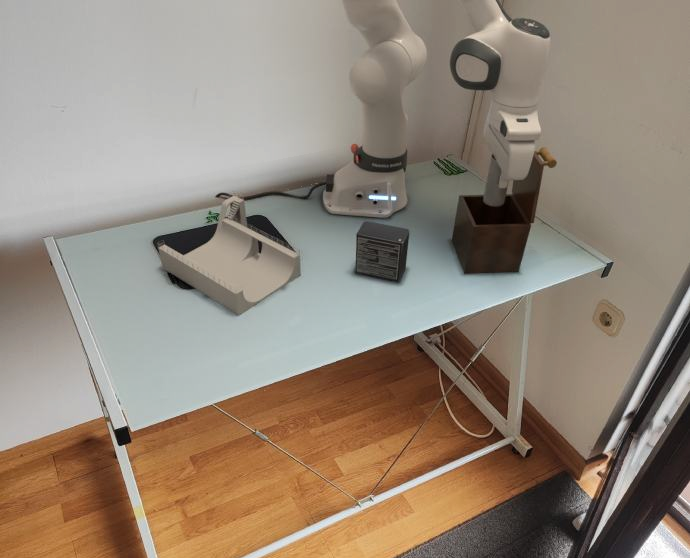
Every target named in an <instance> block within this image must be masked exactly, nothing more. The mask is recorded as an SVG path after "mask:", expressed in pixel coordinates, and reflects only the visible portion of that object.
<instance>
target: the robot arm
mask: <svg viewBox="0 0 690 558" xmlns="http://www.w3.org/2000/svg"><path fill="white" fill-rule="evenodd" d="M340 1H341V4H342V6H343V10H344V13H345V16H346V19H347V21H348V23H349V24H350V25H351V26H352V27H353V28H355V29H356V30H357V31H358V32H359V33H360V34H361V36H362V38H363V39H364V41H365V42H366V44H367V46H368V49H366V50H364V51H363V52H362V53H361V54H360V55H359V56H358V57H357V59H355V61H354V62H353V64H352V65H351V67H350V69H349V72H348V82H349V83H348V84H349V87H350V89H351V92H352V93H353V95H354V96H355V97H356V98H357V99H358V100H359V104H360V109H361V115H362V116H361V117H362V137H361V141H362V142H361V145H360V147H359V145H358V144H357V143H352V144H351V146H350V151H351V153H352V154H353V160H352V161H351V162H349V163H347V164H346V165H345V166H343V167H342V168H340V169H338V170H336V172H335V173H334V174H326V179H325V181H322V182H320V183H317V184H315V185H314V186H312V187H311V188H310V189H309V191H308V194H306V195H303V196H298V195H294V194H290V193H287V192H283V191H276V190H275V191H274V190H273V191H265V192H260V193H257V194H252V195H246V196H244V199H243V196H238V197H239V198H241V199H243V200H244V201H245V200H251V199H255V198H259V197H263V196H267V195H268V196H269V195H279V196H280V195H281V196H285V197H290V198H294V199H301V200H306V199H308V198H309V197H311V195H312V193H313V192H314V190H315V189H317V188H319V187H322V186H324V185H325V189H324V190H323V193H322V203H323V206H324V209H325V210H326V211H327V212H329V213H330V214H332V215H342V216H355V217H368V218H382V219H387V218H389V217H391V216H392V215H393V214H394V213H396V212H398V211H400V210H402V209H403V208H405V207H406V206H407V205H408V201H409V200H408V195H407V190H406V171H407V166H408V158H409V156H408V155H409V153H408V147H407V145H408V133H409V122H410V121H409V116H408V114H407V113H406V112H405V109H404V101H403V95H404V90H405V88H406V87H407V86H408V85H409V84H411V83H413V82H414V81H416V80H417V78H418V77H419V76H420V74H421V73H422V71H423V69H424V67H425V65H426V63H427V60H428V51H427V47H426V44H425V42H424V41H423V39H422V38H421V37H420V36H418V35H417V34H416V33H414V31H413V29H412V28H411V26H410V24H409V23H408V21H407V19H406V17H405V16H404V14H403V11H402V9H401V8H400V6H399V3H398V1H397V0H340ZM457 1H458V3H459V5H460V6H461V8H462V10H463V11H464V13H465V15H466V17H467V18H468V20H469V22H470V24H471V25H472V27H473V29H474V30H475V32H473V33H472V34H470V35H468V36H466V37H464V38H462V39H461V40H459V41H457V43H456V44H455V45H454V46H453V49H452V51H451V53H450V57H449V69H450V74H451V76H452V79H453V80H454V81H455V83H456V84H457V85H458V86H459V87H461V88H462V89H466V90H471V91H490V92H491V101H490V105H489V110H488V113H487V116H486V119H485V124H484V128H483V141H484V143H485V145H486V146H487V148H488V150H489V151H490V158H491V157H492V154H493V155H494V158H495V159H496V161H497V163H498V165H499V166H500V168H501V173H502V174H501V176H500V177H498V182H497V184H498V186H499V188H506V187H507V186H508V187H509V183H508V182H510V181H513V180H523V179H525V177H526V176H527V174H528V172H529V169H530V166H531V162H532V159H533V155H534V151H536V141H539V140H540V138H541V134H542V128H541V124H540V122H539V116H538V115H539V113H538V112H539V111H538V108H539V103H540V89H541V86H542V84H543V82H544V80H545V77H546V73H547V68H548V64H549V57H550V51H551V32H550V31H549V29H548V28H547V27H546V25H545V24H543V23H541V22H539V21H537V20H534V19H531V18H524V17H517V18H512V17H511V16H510V15H508V13H507V12H506V10H505V8H504V7H503V6H502V3H501V2H500V0H457ZM229 195H230V196H229ZM220 196H224V197H225V196H226V197H228V198H229V197H232V196H234V194H232V195H231V193H229V192H219V193H217V194H216V195H215V196H214V197H215V198H219V197H220Z"/></svg>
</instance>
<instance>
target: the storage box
mask: <svg viewBox="0 0 690 558" xmlns="http://www.w3.org/2000/svg"><path fill="white" fill-rule="evenodd" d="M483 198H484V194H461V195H458V200H457V206H456V212H455V218H454V224H453V230H452V236H451V241H450V242H451V244H452V246H453V249H454V252H455V254H456V257H457V259H458V262H459V265H460V267H461V269H462V273H463V274H464V275H480V274H481V275H482V274H485V275H486V274H511V273H513V274H515V273H519V272H520V268H521V264H522V261H523V257H524V253H525V250H526V247H527V242H528V240H529V239H528V238H529V236H530V233H531V232H530V231H531V229H532V223H531V224H530V222H529V221H528V219H527V217H526V216H525V214H524V212H523V211H522V209H521V207H520V206H519V204H518V202H517V200H516V199H515V197H514V195H513V194H512V193H510V194H509V193H506V197H505V201H504V204H503V205H501V206H490V205H487V204H485V203H484V201H483Z"/></svg>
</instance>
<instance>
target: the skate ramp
mask: <svg viewBox="0 0 690 558" xmlns="http://www.w3.org/2000/svg"><path fill="white" fill-rule="evenodd" d="M231 193H232V194H231ZM229 194H230V195H233V196H232V197H228V198H227V199H225V200H223V201H222V203H221V207H220V213H219V217H218V220H217V226H216V229H215V233H214V234H213V236H212V237H211V238H210V240H208V241H207V242H206V243H204V244H202V245H200V246H199V247H197V248H195V249H193V250H191V251H189V252H188V253H185V254H181V253H180V252H179V251H177V250H176V249H175V250H174V249H173V248H171V247H170V246H168V245H166V244H165V240H164V239H163V240H162V241H163V242H161V243H160V242H157V249H158V253H159V257H160V261H161V266H162V269H163V270H165V271H166V272H169V273H170V274H171V275H173V276H175V277H176V278H178V279H179V280H181V281H183V282H184V283H186V284H187V285H190V287H192V288H194V289H195V290H198V291H199V292H201V293H203V294H204V295H205V296H207V297H209V299H212V300H214V301H215V302H217V303H218V304H220V305H221V306H224V307H225V308H226V309H228V310H229V311H232V312H233V313H235V314H236V315H238V316H241V315H242V314H243V313H246V312H247V311H248V310H250V309H251V308H253V307H254V306H256V305H257V304H259V303H261V302H262V301H264V300H265V299H266V298H268V297H270V296H271V295H273V294H274V293H276V292H277V291H279V290H281V289H282V288H283V287H285V286H286V285H288V284H290V283H291V282H293V281H295V279H297V278H298V277H300V276H301V275H302V274H301V273H302V272H301V254H300V249H295V247H294V246H292V248H291V246H290V244H286V245H285V243H284V241H279V238H276V241H275V240H273V239H271V238H274V236H272V235H270V234H268V233H266V232H264V231H263V230H260V229H258V228H256V227H254V226H253V225H252V224H249V223H248V221H247V211H246V204H245V199H244V197H245V196H244V195H243V194H242V193H239V192H237V195H236V192H234V190H233V191H231V192H229ZM230 195H229V196H230ZM238 195H240V196H242V197H243V199H244V200H243V199H241V198H239V197H240V196H238ZM229 206H230V208H229V210H227V209H228V207H229ZM227 211H228V213H227ZM252 227H253V228H252ZM254 229H255V230H254ZM258 230H259V232H258ZM260 233H261V234H260ZM263 234H265V235H263ZM267 236H269V237H270V236H271V238H269V237H267ZM259 242H261V251H260V250H259Z"/></svg>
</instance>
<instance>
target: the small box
mask: <svg viewBox="0 0 690 558" xmlns="http://www.w3.org/2000/svg"><path fill="white" fill-rule="evenodd" d="M410 232H411V229H410V228H406V227H401V226H400V227H399V226H395V225H389V224H385V223H380V222H379V223H378V222H374V221H369V220H364V221H363V222H362V224H361V226H360V227H359V228H358V230H357V232H356V233H355V237H356V238H355V241H356V243H355V267H354V274H355V275H360V276H365V277H370V278H374V279H379V280H383V281H388V282H393V283H397V284H398V283H400V282H401V280H402V278H403V275H404V274H405V272H406V269H407V261H408V249H409V240H410Z"/></svg>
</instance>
